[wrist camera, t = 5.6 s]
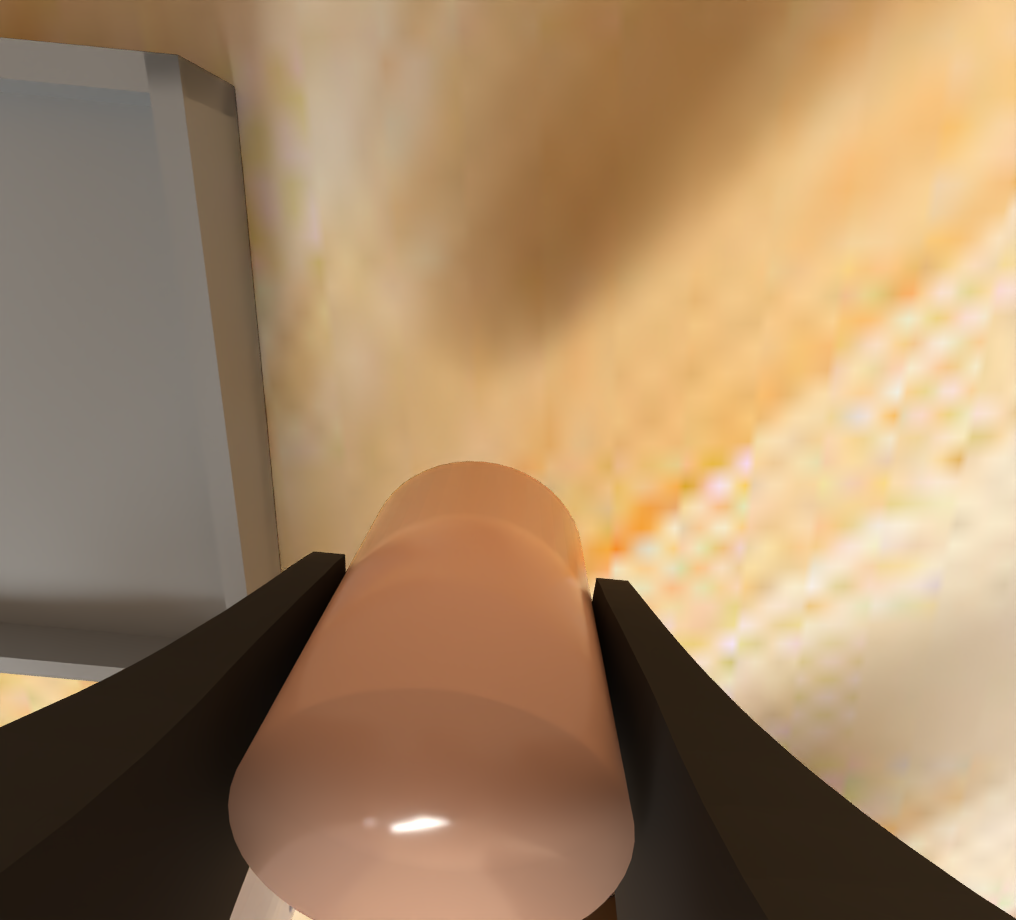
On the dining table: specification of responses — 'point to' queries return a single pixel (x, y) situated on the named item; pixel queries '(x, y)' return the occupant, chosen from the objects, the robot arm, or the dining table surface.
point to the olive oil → (604, 911)
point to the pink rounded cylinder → (445, 722)
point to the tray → (124, 360)
